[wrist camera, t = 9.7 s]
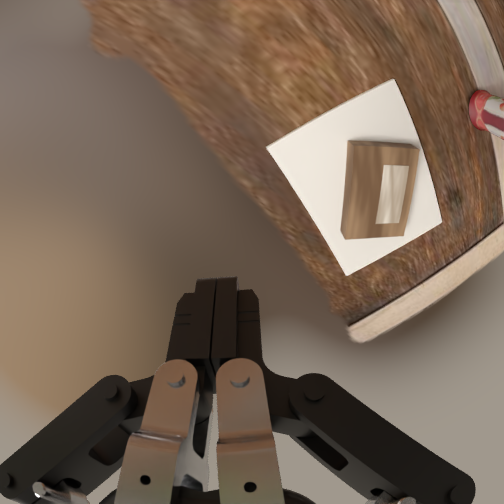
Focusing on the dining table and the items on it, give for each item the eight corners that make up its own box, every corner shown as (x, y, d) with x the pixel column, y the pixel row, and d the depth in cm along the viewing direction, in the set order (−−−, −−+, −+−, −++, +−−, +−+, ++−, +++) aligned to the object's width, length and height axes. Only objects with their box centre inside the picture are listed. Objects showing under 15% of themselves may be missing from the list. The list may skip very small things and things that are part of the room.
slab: (345, 240, 41) (403, 236, 41) (354, 145, 33) (420, 149, 33) (340, 230, 43) (396, 227, 43) (347, 140, 35) (410, 143, 35)
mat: (392, 78, 30) (394, 79, 30) (440, 220, 43) (442, 222, 43) (266, 146, 36) (266, 147, 36) (345, 273, 49) (346, 276, 49)
